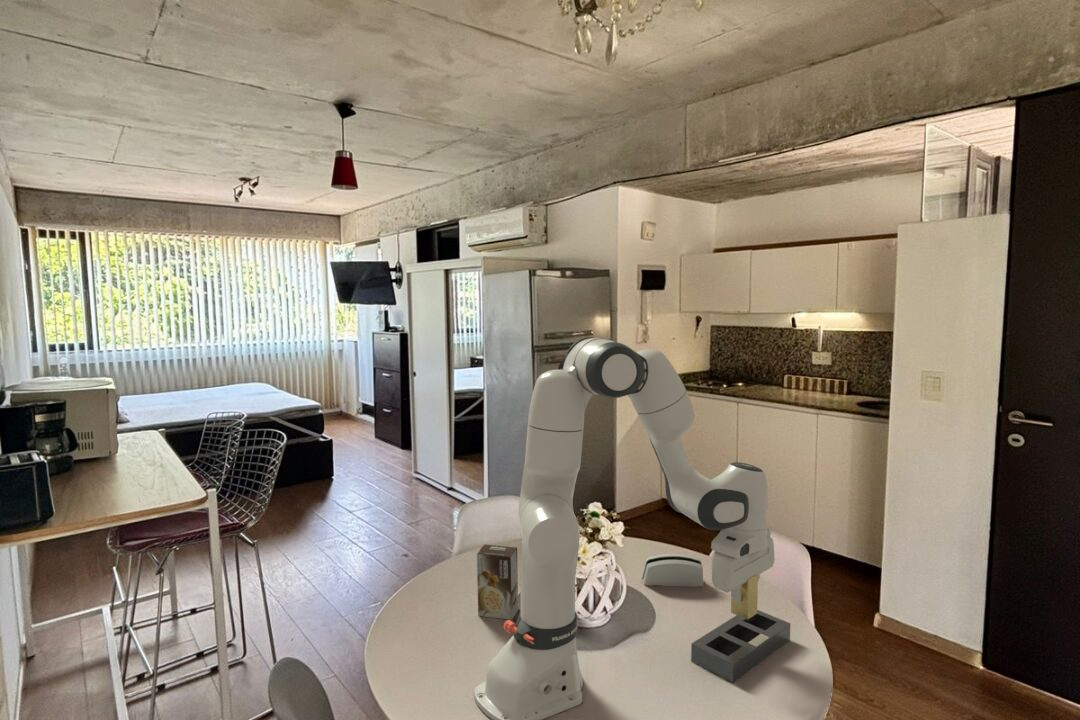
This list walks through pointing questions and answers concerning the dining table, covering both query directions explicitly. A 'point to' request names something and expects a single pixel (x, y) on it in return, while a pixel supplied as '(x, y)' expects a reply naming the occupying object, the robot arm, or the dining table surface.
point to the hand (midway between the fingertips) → (744, 597)
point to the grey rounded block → (673, 570)
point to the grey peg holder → (740, 644)
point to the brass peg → (747, 599)
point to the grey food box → (497, 581)
